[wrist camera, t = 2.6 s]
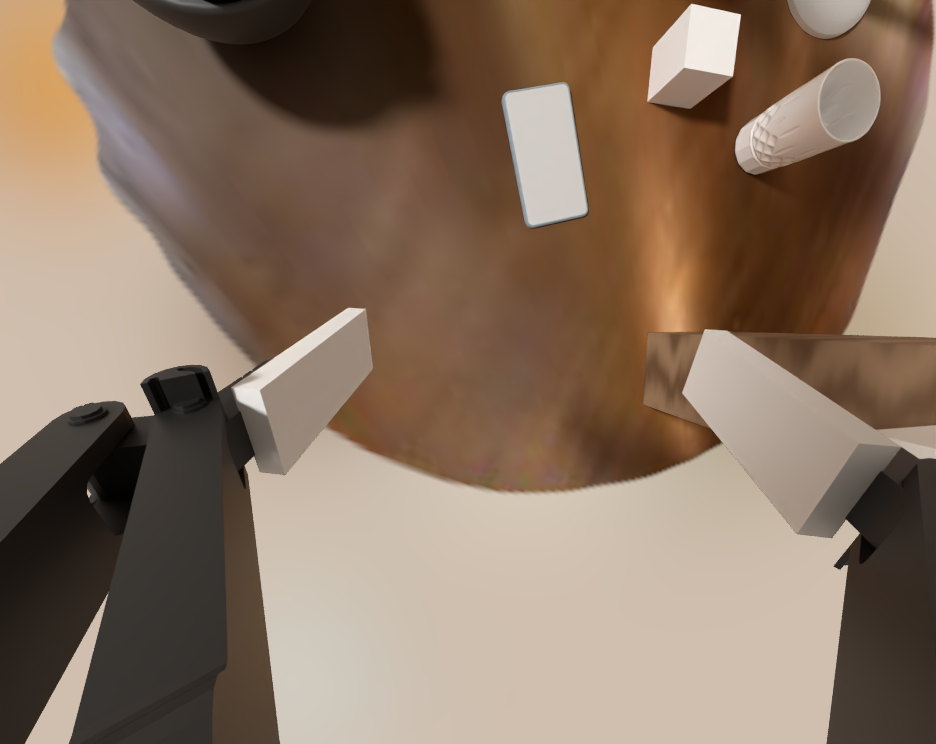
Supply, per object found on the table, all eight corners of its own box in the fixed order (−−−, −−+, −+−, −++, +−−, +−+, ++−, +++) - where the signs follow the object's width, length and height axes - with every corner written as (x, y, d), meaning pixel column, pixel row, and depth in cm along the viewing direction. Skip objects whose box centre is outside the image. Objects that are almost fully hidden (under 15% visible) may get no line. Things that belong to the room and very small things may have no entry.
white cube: (689, 109, 44) (732, 76, 38) (646, 102, 43) (684, 68, 37) (696, 56, 43) (741, 14, 37) (652, 47, 42) (691, 3, 36)
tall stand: (641, 325, 47) (1034, 331, 17) (732, 324, 49) (1217, 327, 19) (636, 411, 48) (984, 551, 19) (723, 407, 51) (1156, 525, 21)
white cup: (747, 102, 45) (841, 41, 35) (791, 134, 46) (893, 84, 36) (720, 161, 45) (805, 117, 35) (764, 190, 47) (857, 156, 37)
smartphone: (527, 228, 42) (501, 91, 39) (524, 230, 43) (499, 96, 40) (590, 214, 43) (569, 79, 40) (586, 217, 44) (565, 85, 41)
